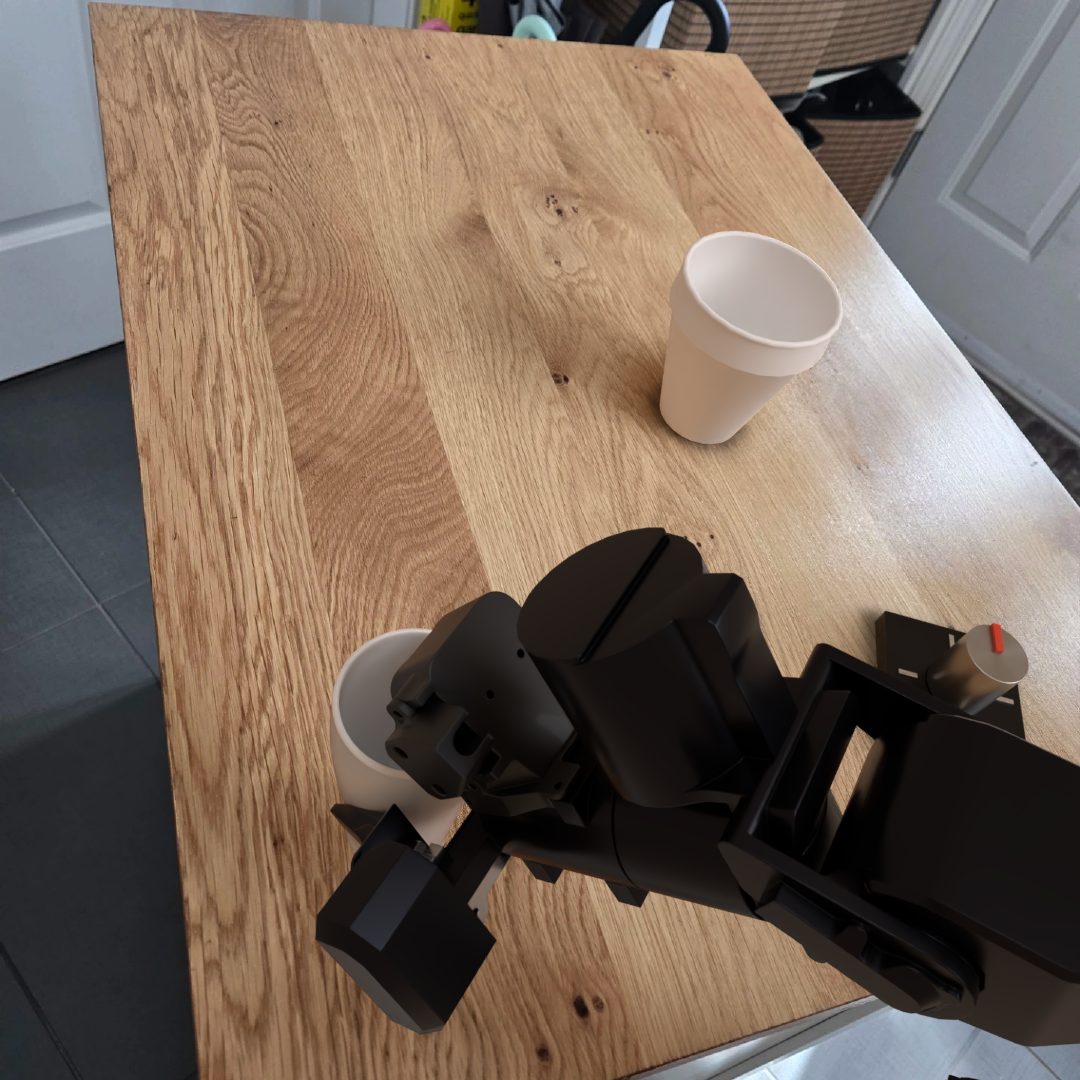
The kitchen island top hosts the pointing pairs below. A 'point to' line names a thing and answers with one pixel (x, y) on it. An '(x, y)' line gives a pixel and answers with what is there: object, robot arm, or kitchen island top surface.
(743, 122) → the kitchen island top surface
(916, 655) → the hob panel
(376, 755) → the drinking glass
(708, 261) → the cup
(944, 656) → the hob knob
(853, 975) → the robot arm
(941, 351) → the kitchen island top surface
